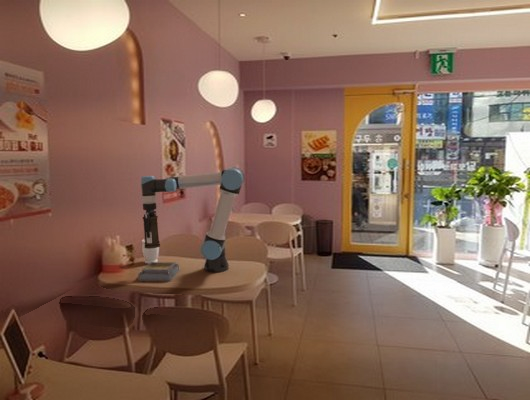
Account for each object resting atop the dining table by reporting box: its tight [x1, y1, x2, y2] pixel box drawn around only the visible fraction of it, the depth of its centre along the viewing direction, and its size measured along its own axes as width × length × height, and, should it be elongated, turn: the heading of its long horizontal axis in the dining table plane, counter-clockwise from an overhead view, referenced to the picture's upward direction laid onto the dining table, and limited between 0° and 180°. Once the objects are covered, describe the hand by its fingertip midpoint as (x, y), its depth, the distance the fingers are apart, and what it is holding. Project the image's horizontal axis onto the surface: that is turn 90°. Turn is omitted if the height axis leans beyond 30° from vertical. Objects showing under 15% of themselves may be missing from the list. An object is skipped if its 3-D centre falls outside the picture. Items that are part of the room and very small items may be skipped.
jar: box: [141, 238, 160, 264], centre depth 269 cm, size 11×10×15 cm
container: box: [142, 215, 161, 249], centre depth 238 cm, size 9×9×18 cm
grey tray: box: [137, 261, 180, 282], centre depth 240 cm, size 18×20×6 cm
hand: (152, 241), depth 238 cm, fingers closed on container, 8 cm apart
